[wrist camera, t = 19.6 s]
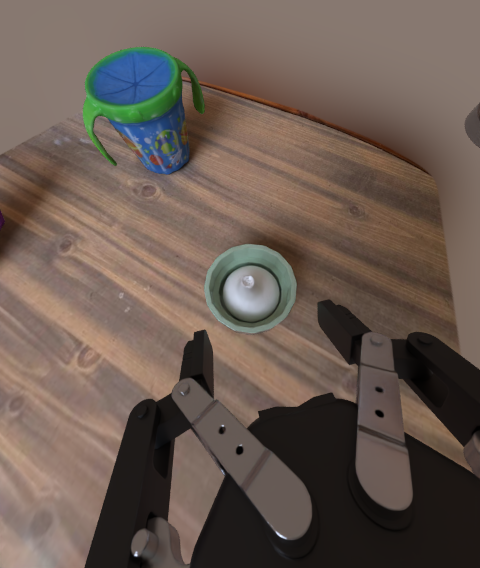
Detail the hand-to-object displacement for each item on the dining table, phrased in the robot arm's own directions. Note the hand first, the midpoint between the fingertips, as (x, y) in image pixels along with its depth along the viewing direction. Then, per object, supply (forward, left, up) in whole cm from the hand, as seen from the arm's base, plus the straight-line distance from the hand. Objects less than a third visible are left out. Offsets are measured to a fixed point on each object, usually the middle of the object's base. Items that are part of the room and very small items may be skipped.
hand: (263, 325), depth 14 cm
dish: (0, -4, -10) cm, 11 cm away
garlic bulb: (0, -4, -9) cm, 10 cm away
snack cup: (+7, -29, -10) cm, 32 cm away
